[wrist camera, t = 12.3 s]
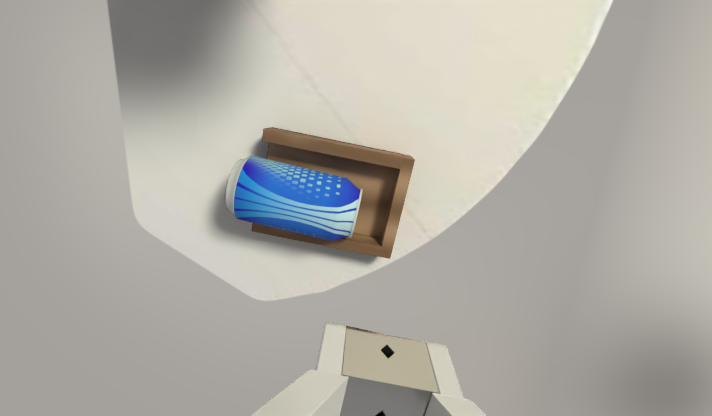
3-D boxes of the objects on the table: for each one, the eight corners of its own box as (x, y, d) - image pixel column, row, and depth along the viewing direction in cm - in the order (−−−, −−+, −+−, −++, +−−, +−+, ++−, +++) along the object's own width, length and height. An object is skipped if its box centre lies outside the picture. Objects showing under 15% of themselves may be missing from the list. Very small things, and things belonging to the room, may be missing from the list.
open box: (272, 127, 45) (263, 128, 41) (410, 155, 45) (414, 160, 42) (260, 221, 49) (251, 231, 45) (388, 247, 49) (389, 258, 46)
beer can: (219, 226, 40) (347, 256, 40) (226, 160, 37) (363, 192, 38) (244, 204, 48) (351, 229, 48) (251, 148, 45) (365, 175, 46)
